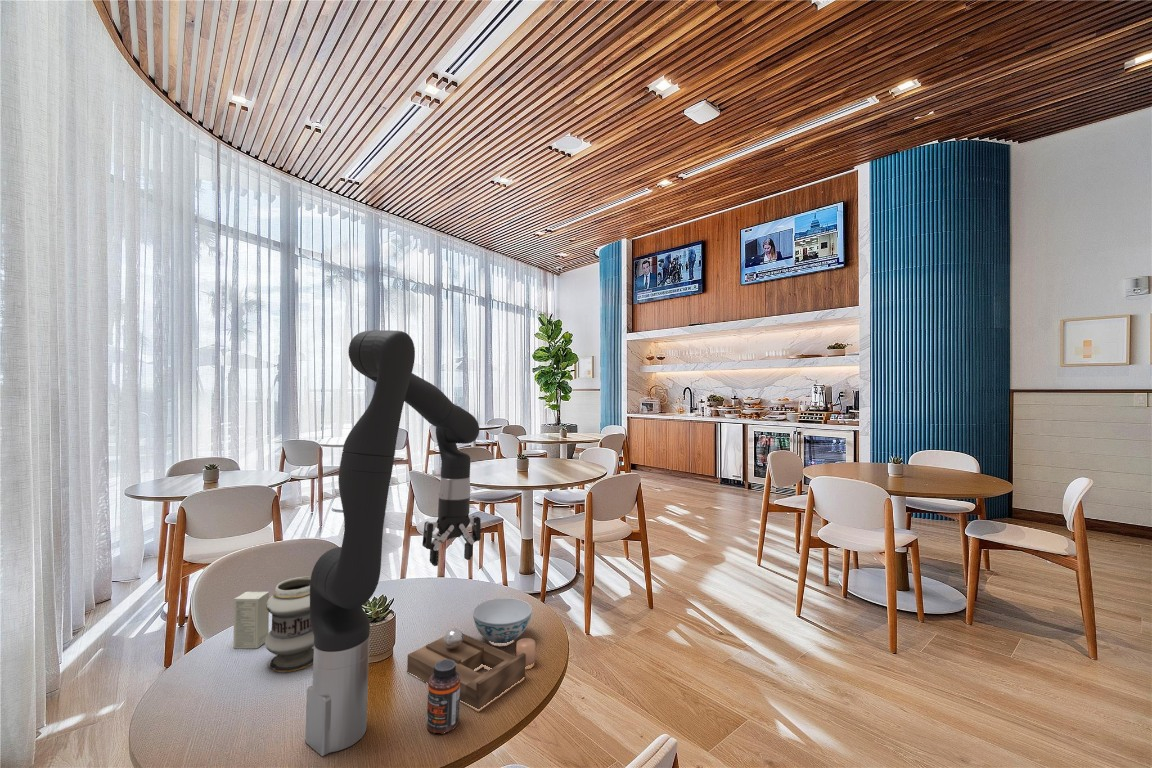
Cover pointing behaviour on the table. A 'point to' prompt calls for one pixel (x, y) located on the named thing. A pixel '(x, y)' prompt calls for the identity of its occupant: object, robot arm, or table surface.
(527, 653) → the beige rounded cylinder
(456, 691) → the supplement bottle
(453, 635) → the steel ball
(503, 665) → the wooden box
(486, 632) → the chinaware
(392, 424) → the robot arm
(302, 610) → the apothecary jar
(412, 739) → the table surface
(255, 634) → the skincare box
